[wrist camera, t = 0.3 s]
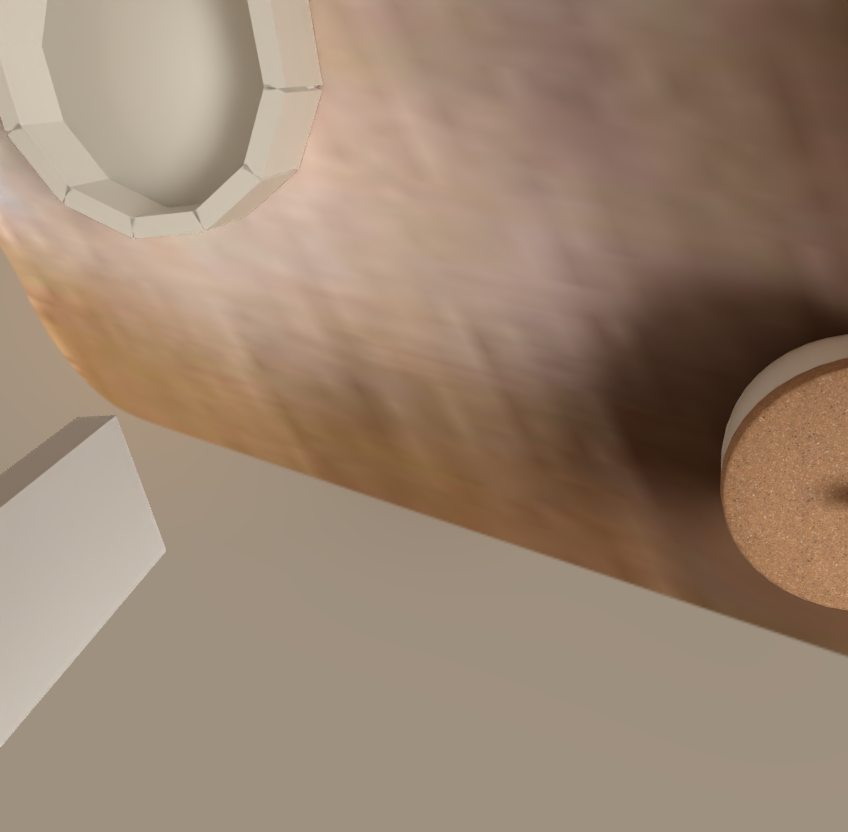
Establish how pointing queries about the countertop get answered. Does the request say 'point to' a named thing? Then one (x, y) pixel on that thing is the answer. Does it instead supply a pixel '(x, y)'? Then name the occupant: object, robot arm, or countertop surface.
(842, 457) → the lidded jar
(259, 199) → the bowl
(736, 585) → the countertop surface
